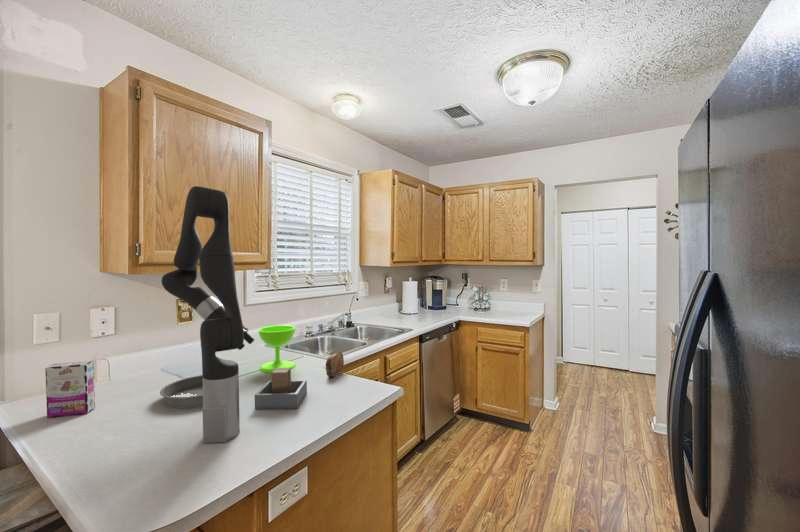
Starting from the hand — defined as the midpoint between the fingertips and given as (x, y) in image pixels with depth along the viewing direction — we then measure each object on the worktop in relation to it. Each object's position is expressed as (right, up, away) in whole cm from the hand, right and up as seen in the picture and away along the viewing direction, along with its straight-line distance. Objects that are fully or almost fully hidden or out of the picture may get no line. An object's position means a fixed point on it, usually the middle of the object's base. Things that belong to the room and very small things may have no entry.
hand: (247, 344), depth 127 cm
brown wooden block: (+12, -19, +1) cm, 22 cm away
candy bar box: (-55, -21, -7) cm, 59 cm away
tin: (+25, -20, +31) cm, 44 cm away
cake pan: (-20, -21, +7) cm, 30 cm away
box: (+12, -20, +1) cm, 23 cm away
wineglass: (-3, -20, +41) cm, 46 cm away
